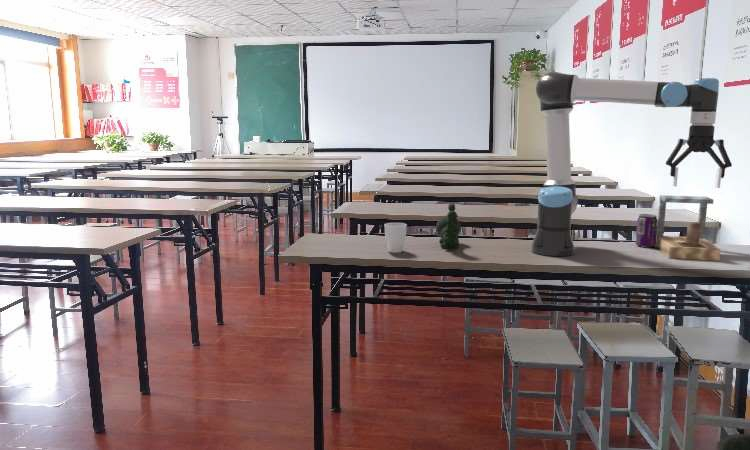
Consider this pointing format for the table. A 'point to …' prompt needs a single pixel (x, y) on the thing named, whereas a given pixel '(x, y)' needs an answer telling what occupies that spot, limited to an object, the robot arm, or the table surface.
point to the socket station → (677, 244)
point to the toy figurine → (449, 228)
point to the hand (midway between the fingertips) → (695, 186)
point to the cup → (395, 236)
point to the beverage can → (646, 230)
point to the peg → (693, 234)
